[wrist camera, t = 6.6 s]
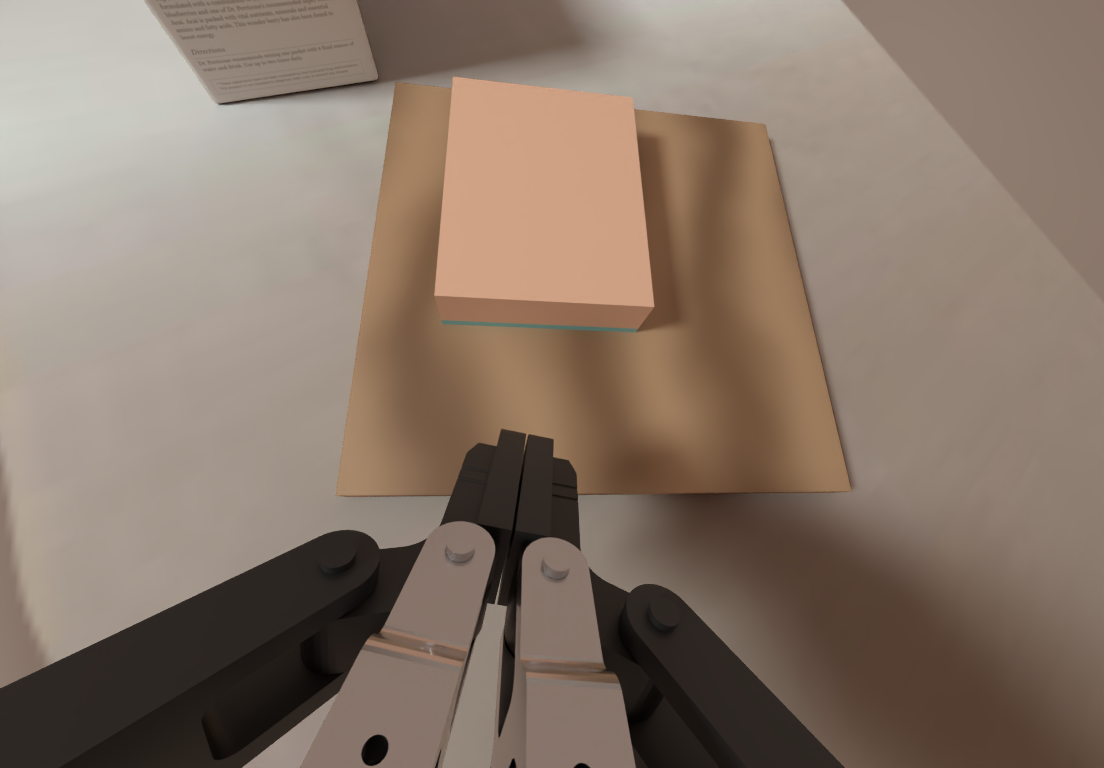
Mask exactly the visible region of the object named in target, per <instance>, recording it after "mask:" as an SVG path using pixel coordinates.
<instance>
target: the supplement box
mask: <svg viewBox="0 0 1104 768" xmlns="http://www.w3.org/2000/svg"><path fill="white" fill-rule="evenodd" d="M142 1H143V2H144V3H145V5H146V6H147V8H148V9H149V10H150V12H151V13H152V15H153V16H154V18H155V19H156V20H157V22H158V23H159V25H160V26H161V28H162V29H163V30H164V32H165V33H166V35H167V36H168V37H169V39H170V40H171V42H172V43H173V45H174V46H175V47H176V49H177V50H178V52H179V53H180V55H181V56H182V57H183V59H184V60H185V62H186V63H187V65H188V66H189V67H190V69H191V70H192V72H193V73H194V75H195V76H196V77H197V79H198V80H199V82H200V83H201V85H202V86H203V88H204V89H205V91H206V92H207V94H208V95H209V97H210V98H211V100H212V101H214V102H215V103H218V104H219V103H226V102H232V101H239V100H246V99H252V98H259V97H265V96H272V95H279V94H285V93H292V92H299V91H305V90H312V89H319V88H326V87H333V86H339V85H346V84H353V83H359V82H366V81H372V80H377V79H378V73H377V70H376V66H375V63H374V59H373V56H372V52H371V49H370V45H369V41H368V38H367V34H366V31H365V28H364V24H363V21H362V17H361V14H360V10H359V7H358V3H357V0H142Z"/></svg>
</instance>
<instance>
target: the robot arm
mask: <svg viewBox="0 0 1104 768" xmlns="http://www.w3.org/2000/svg"><path fill="white" fill-rule="evenodd" d="M525 440H526V433H521V432H516V431H511V430H506V429H501V431H500V435H499V439H498V443H497V446H493V445H488V444H483V443H477V444H476V445H475V446H474V447H473V448H472V449H470V450H469V451H468V452H467V453H466V456H465V459H464V462H463V464H462V468H461V470H460V473H459V475H458V479H457V481H456V484H455V486H454V489H453V492H452V495H451V497H450V500H449V503H448V506H447V508H446V511H445V514H444V516H443V519H442V522H441V524H440V526H439V527H438V528H437V529H435V530H434V531H433V532H432V533H431V534H430V535H429V537H428V538H427V539H425V540H423V541H421V542H419V543H417V544H414V545H410V546H405V547H397V548H388V549H379V547H378V545H377V543H376V542H375V540H374V539H372V538H371V537H370V536H368V535H367V534H365V533H362V532H359V531H354V530H340V531H334V532H330V533H327V534H324V535H322V536H320V537H317V538H315V539H313V540H311V541H309V542H307V543H305V544H303V545H301V546H299V547H296V548H294V549H292V550H290V551H288V552H286V553H284V554H282V555H280V556H278V557H275V558H273V559H271V560H269V561H267V562H265V563H263V564H261V565H259V566H257V567H254V568H252V569H250V570H248V571H246V572H244V573H242V574H240V575H238V576H236V577H234V578H231V579H229V580H227V581H225V582H223V583H221V584H219V585H217V586H215V587H213V588H210V589H208V590H206V591H204V592H202V593H200V594H198V595H196V596H194V597H192V598H189V599H187V600H185V601H183V602H181V603H179V604H177V605H175V606H173V607H171V608H168V609H166V610H164V611H162V612H160V613H158V614H156V615H154V616H152V617H150V618H147V619H145V620H143V621H141V622H139V623H137V624H135V625H133V626H131V627H129V628H126V629H124V630H122V631H120V632H118V633H116V634H114V635H112V636H110V637H108V638H105V639H103V640H101V641H99V642H97V643H95V644H93V645H91V646H89V647H87V648H84V649H82V650H80V651H78V652H76V653H74V654H72V655H70V656H68V657H66V658H63V659H61V660H59V661H57V662H55V663H53V664H51V665H49V666H47V667H45V668H42V669H41V670H38V671H36V672H34V673H32V674H30V675H28V676H26V677H24V678H21V679H19V680H18V681H15V682H13V683H11V684H9V685H7V686H5V687H3V688H0V768H242V767H243V766H244V765H246V764H247V763H248V762H250V761H251V760H252V759H253V758H255V757H256V756H257V755H259V754H260V753H261V752H262V751H264V750H265V749H266V748H268V747H269V746H270V745H271V744H273V743H274V742H275V741H277V740H278V739H279V738H280V737H282V736H283V735H284V734H286V733H287V732H288V731H289V730H291V729H292V728H293V727H295V726H296V725H297V724H298V723H300V722H301V721H302V720H304V719H305V718H306V717H307V716H309V715H310V714H311V713H313V712H314V711H315V710H316V709H318V708H319V707H320V706H322V705H323V704H324V703H325V702H327V701H328V700H329V699H331V698H332V697H333V696H334V695H336V694H337V693H338V692H339V693H338V695H337V697H336V699H335V701H334V703H333V705H332V707H331V709H330V711H329V712H328V714H327V716H326V718H325V720H324V722H323V724H322V726H321V728H320V730H319V732H318V734H317V736H316V738H315V739H314V741H313V743H312V745H311V747H310V749H309V751H308V753H307V755H306V757H305V759H304V761H303V763H302V765H301V767H300V768H442V765H443V761H444V757H445V753H446V749H447V745H448V741H449V738H450V734H451V730H452V726H453V723H454V719H455V715H456V711H457V708H458V704H459V700H460V697H461V693H462V689H463V686H464V682H465V678H466V674H467V671H468V667H469V663H470V660H471V656H472V652H473V649H474V645H475V641H476V637H477V635H478V634H479V632H480V630H481V628H482V624H483V620H484V615H485V611H486V607H487V603H490V604H495V599H496V595H497V591H498V587H499V583H500V578H501V574H502V578H501V584H500V591H499V597H498V603H497V605H503V606H507V611H506V618H505V625H504V629H503V632H502V636H501V641H500V652H499V668H498V683H497V699H496V714H495V730H494V743H493V753H492V760H491V766H490V768H844V766H843V765H842V764H841V763H840V762H839V761H838V760H837V759H836V758H835V757H834V756H833V755H832V754H831V753H830V752H829V751H828V750H827V749H826V748H825V747H824V746H823V745H822V744H821V743H820V742H819V741H818V740H817V739H816V738H815V736H814V735H813V734H812V733H811V732H810V731H809V730H808V729H807V728H806V727H805V726H804V725H803V724H802V723H801V722H800V721H799V720H798V719H797V718H796V717H795V716H794V715H793V714H792V713H791V712H790V711H789V710H788V709H787V708H786V706H785V705H784V704H783V703H782V702H781V701H780V700H779V699H778V698H777V697H776V696H775V695H774V694H773V693H772V692H771V691H770V690H769V689H768V688H767V687H766V686H765V685H764V684H763V683H762V682H761V681H760V680H759V679H758V677H757V676H756V675H755V674H754V673H753V672H752V671H751V670H750V669H749V668H748V667H747V666H746V665H745V664H744V663H743V662H742V661H741V660H740V659H739V658H738V657H737V656H736V655H735V654H734V653H733V652H732V651H731V650H730V649H729V647H728V646H727V645H726V644H725V643H724V642H723V641H722V640H721V639H720V638H719V637H718V636H717V635H716V634H715V633H714V632H713V631H712V630H711V629H710V628H709V627H708V626H707V625H706V624H705V623H704V622H703V621H702V620H701V619H700V617H699V616H698V615H697V614H696V613H695V612H694V611H693V610H692V609H691V608H690V607H689V606H688V605H687V604H686V603H685V602H684V601H683V600H682V599H681V598H680V597H679V596H677V595H676V594H675V593H673V592H672V591H670V590H668V589H666V588H664V587H662V586H658V585H654V584H644V585H640V586H638V587H636V588H634V589H633V590H632V591H631V593H628V592H626V591H624V590H622V589H620V588H618V587H616V586H614V585H612V584H610V583H608V582H606V581H604V580H603V579H601V578H600V577H599V576H597V575H596V574H595V573H594V572H593V571H592V570H591V569H590V568H589V566H588V563H587V561H586V558H585V557H584V555H583V554H582V553H581V549H580V533H579V512H578V502H577V501H578V491H577V473H576V472H575V470H574V468H573V466H572V465H571V463H570V461H569V460H566V459H560V458H555V457H553V450H554V439H551V438H546V437H541V436H536V435H531V434H528V437H527V441H526V446H525ZM524 447H525V450H524ZM502 570H503V572H502Z"/></svg>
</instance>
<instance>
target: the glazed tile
mask: <svg viewBox="0 0 1104 768" xmlns="http://www.w3.org/2000/svg"><path fill="white" fill-rule="evenodd" d="M434 296H435V300H436V303H437V307H438V310H439V314H440V317H441V321H442V324H452V325H475V326H498V327H521V328H545V329H568V330H591V331H614V332H636V331H637V329H638V328H639V327H640V325H641V324H642V323H643V321H644V320H645V319H646V318H647V316H648V315H649V314H650V312H651V311H652V310H653V308H654V298H653V289H652V279H651V269H650V259H649V250H648V240H647V230H646V221H645V211H644V201H643V192H642V182H641V172H640V162H639V153H638V143H637V133H636V124H635V114H634V104H633V98H631V97H622V96H614V95H605V94H597V93H588V92H580V91H571V90H563V89H554V88H546V87H537V86H529V85H520V84H512V83H503V82H495V81H486V80H478V79H469V78H461V77H453V83H452V95H451V107H450V118H449V130H448V142H447V153H446V165H445V177H444V188H443V200H442V211H441V223H440V235H439V246H438V258H437V270H436V281H435V293H434Z"/></svg>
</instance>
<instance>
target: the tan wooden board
mask: <svg viewBox="0 0 1104 768" xmlns="http://www.w3.org/2000/svg"><path fill="white" fill-rule="evenodd" d="M451 95H452V88H443V87H435V86H426V85H417V84H408V83H400V82H396V84H395V91H394V98H393V105H392V112H391V119H390V125H389V132H388V139H387V146H386V153H385V160H384V167H383V173H382V180H381V187H380V194H379V201H378V208H377V215H376V221H375V228H374V235H373V242H372V249H371V256H370V262H369V269H368V276H367V283H366V290H365V297H364V304H363V310H362V317H361V324H360V331H359V338H358V345H357V352H356V358H355V365H354V372H353V379H352V386H351V393H350V399H349V406H348V413H347V420H346V427H345V434H344V441H343V447H342V454H341V461H340V468H339V475H338V482H337V489H336V495H335V496H344V497H388V496H451V495H452V492H453V489H454V486H455V484H456V481H457V479H458V475H459V473H460V470H461V468H462V464H463V462H464V459H465V456H466V453H467V452H468V451H469V450H470V449H472V448H473V447H474V446H475V445H476V444H477V443H483V444H488V445H493V446H497V443H498V439H499V435H500V431H501V429H506V430H511V431H516V432H521V433H526V440H525V446H526V441H527V437H528V434H531V435H536V436H541V437H546V438H551V439H554V450H553V457H555V458H560V459H566V460H569V461H570V463H571V465H572V466H573V468H574V470H575V472H576V473H577V491H578V495H620V494H736V493H834V492H848V491H851V487H850V483H849V479H848V474H847V470H846V466H845V462H844V457H843V453H842V449H841V445H840V440H839V436H838V432H837V428H836V423H835V419H834V415H833V411H832V406H831V402H830V398H829V393H828V389H827V385H826V381H825V376H824V372H823V368H822V364H821V359H820V355H819V351H818V347H817V342H816V338H815V334H814V330H813V325H812V321H811V317H810V312H809V308H808V304H807V300H806V295H805V291H804V287H803V283H802V278H801V274H800V270H799V266H798V261H797V257H796V253H795V249H794V244H793V240H792V236H791V232H790V227H789V223H788V219H787V214H786V210H785V206H784V202H783V197H782V193H781V189H780V185H779V180H778V176H777V172H776V168H775V163H774V159H773V155H772V151H771V146H770V142H769V138H768V133H767V129H766V125H765V124H759V123H750V122H742V121H733V120H724V119H715V118H706V117H698V116H689V115H680V114H671V113H663V112H654V111H645V110H636V109H634V114H635V124H636V133H637V143H638V153H639V162H640V172H641V182H642V192H643V201H644V211H645V221H646V230H647V240H648V250H649V259H650V269H651V279H652V289H653V298H654V308H653V310H652V311H651V312H650V314H649V315H648V316H647V318H646V319H645V320H644V321H643V323H642V324H641V325H640V327H639V328H638V329H637V331H636V332H614V331H591V330H568V329H545V328H521V327H498V326H475V325H452V324H442V321H441V317H440V314H439V310H438V307H437V303H436V300H435V296H434V293H435V281H436V270H437V258H438V246H439V235H440V223H441V211H442V200H443V188H444V177H445V165H446V153H447V142H448V130H449V118H450V107H451ZM524 450H525V447H524Z"/></svg>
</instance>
